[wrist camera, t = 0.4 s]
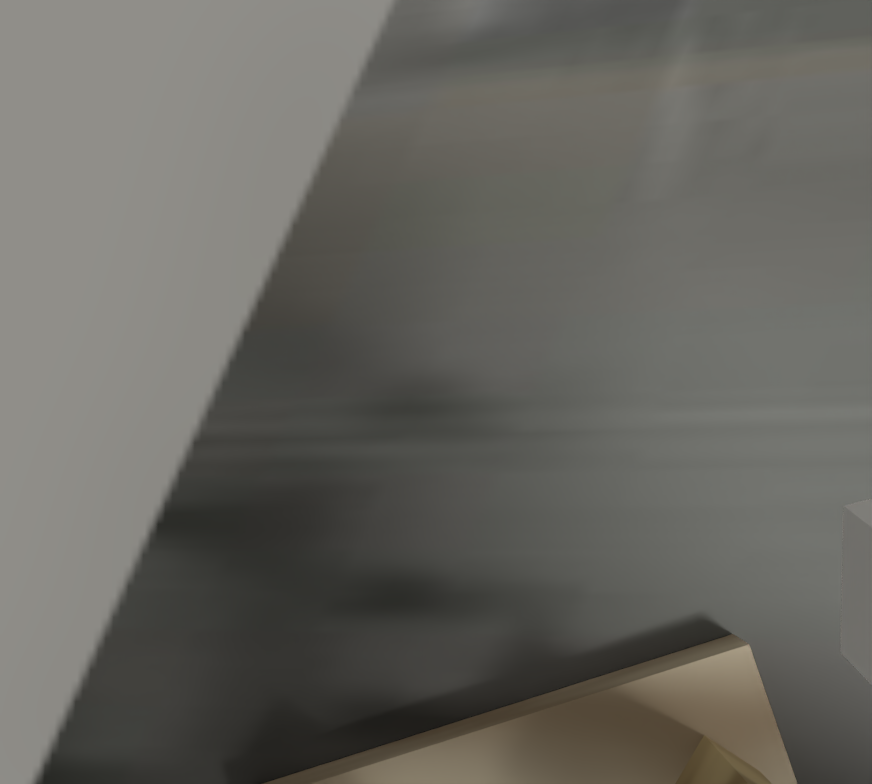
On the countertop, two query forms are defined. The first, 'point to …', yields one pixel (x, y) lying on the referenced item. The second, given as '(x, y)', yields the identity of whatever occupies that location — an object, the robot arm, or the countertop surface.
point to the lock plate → (600, 732)
